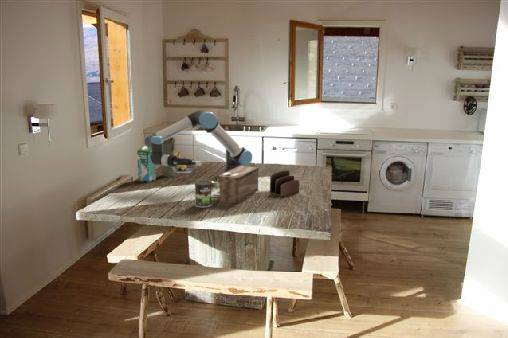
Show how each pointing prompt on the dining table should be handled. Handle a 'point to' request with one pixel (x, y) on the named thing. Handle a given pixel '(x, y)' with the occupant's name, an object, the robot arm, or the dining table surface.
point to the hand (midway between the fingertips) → (200, 163)
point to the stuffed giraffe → (181, 166)
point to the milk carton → (145, 165)
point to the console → (238, 184)
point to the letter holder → (283, 184)
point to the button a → (214, 184)
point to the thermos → (168, 150)
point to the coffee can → (203, 194)
